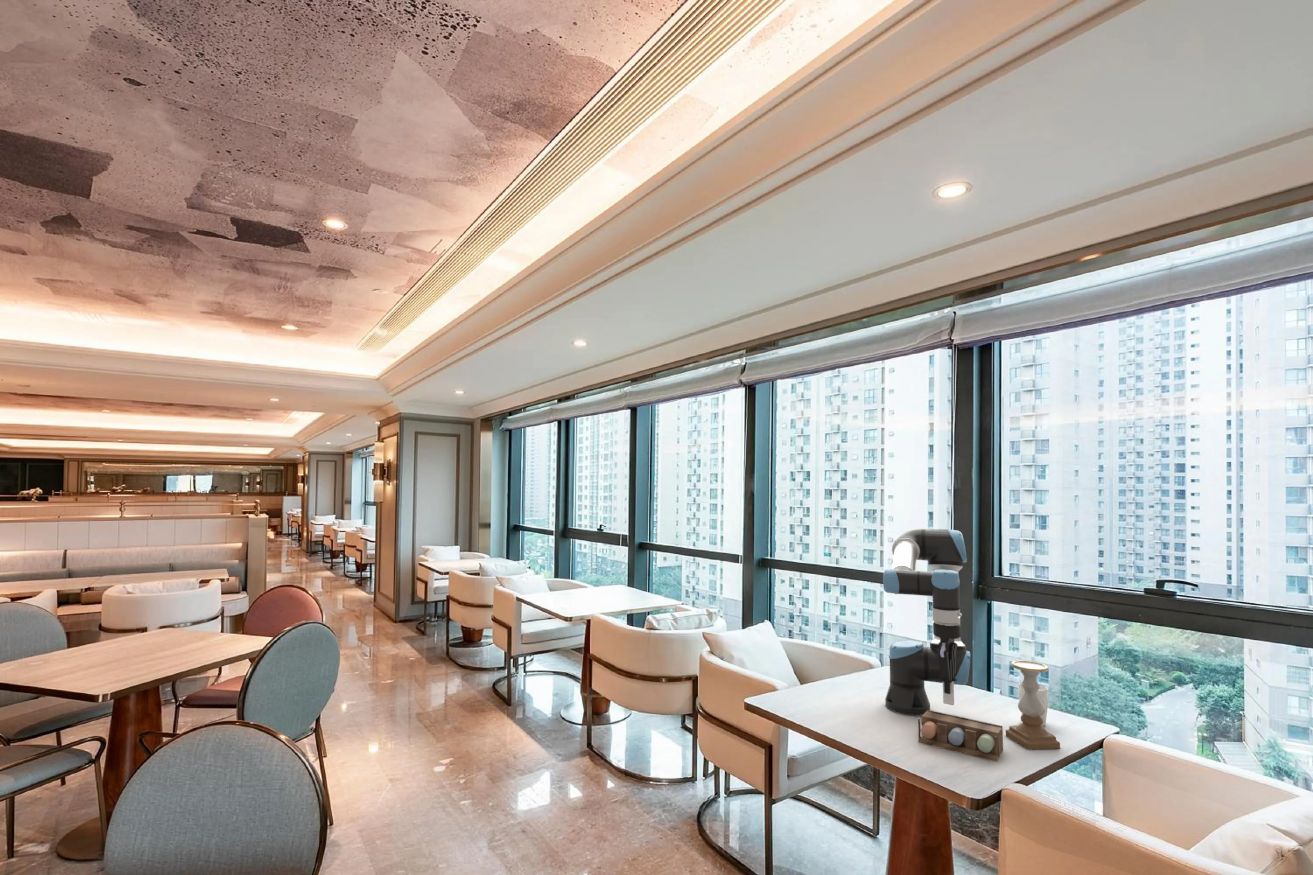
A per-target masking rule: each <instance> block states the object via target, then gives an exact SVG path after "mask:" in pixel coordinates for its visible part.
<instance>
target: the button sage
mask: <svg viewBox="0 0 1313 875" xmlns="http://www.w3.org/2000/svg"><path fill="white" fill-rule="evenodd" d="M994 744H995V741H994V739H993V738H992V737H991V736H990V735H988V734H983V735H981V737H980V738H979V739H978V741H977V746H978V748H979V749H980V750H981V751H982V752H985V753H988V752H990V751H991V750H992V748H993V746H994Z"/></svg>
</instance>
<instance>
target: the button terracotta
mask: <svg viewBox="0 0 1313 875" xmlns="http://www.w3.org/2000/svg"><path fill="white" fill-rule="evenodd" d="M920 731H921V736H922V735H923V736H924V737H925V738H927V739H931V738H933V737H934V735H935V734H936V733H937V726H936V724H935V723H933V722H931V721H928V722H926V723H925V724H924V725H923V726H922V725H921V726H920Z"/></svg>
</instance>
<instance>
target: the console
mask: <svg viewBox="0 0 1313 875" xmlns="http://www.w3.org/2000/svg"><path fill="white" fill-rule="evenodd" d="M928 721H931V722H933V723H935V724H936V726H937V733H936V734H935V735H934V737H933V738H931V739H927V738H925V737H924V736H923V735H922V733H921V727H922V726H923V725H924V724H925V723H926V722H928ZM953 728H960V729H962V730H963V731H964V733H965V739H964V741H963V742H962V743H961V744H960V745H953V744H952V743H951V742H950V741H949V739H948V735H949V733H950V732H951V731H952V729H953ZM917 729H918V730H917V731H918V732H917V733H918V734H917V735H918V736H917V738H918V743H919V744H924V745H927V746H932V747H934V748H935V747H936V748H940V749H943V750H947V751H952V752H956V753H960V754H963V755H967V756H971V757H976V758H980V759H982V760H988V761H992V762H996V763H997V762H998V758H1000V757H1001V756H1002V754H1003V752H1004V730H1003V725H999V724H994V723H991V722H986V721H982V720H975V719H972V718H967V717H962V716H958V715H952V714H948V713H945V712H939V711H935V710H931V709H930V710H926V712H925V713H924V714H923V715H921V718H918V719H917ZM983 734H988V735H990V736H991V737H992V738H993V739H994V741H995V744H994V746H993V748H992V750H991V751H990V752H988V753H985V752H982V751H981V750H980V749H979V748H978V746H977V741H978V739H979V738H980V737H981V735H983Z"/></svg>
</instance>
